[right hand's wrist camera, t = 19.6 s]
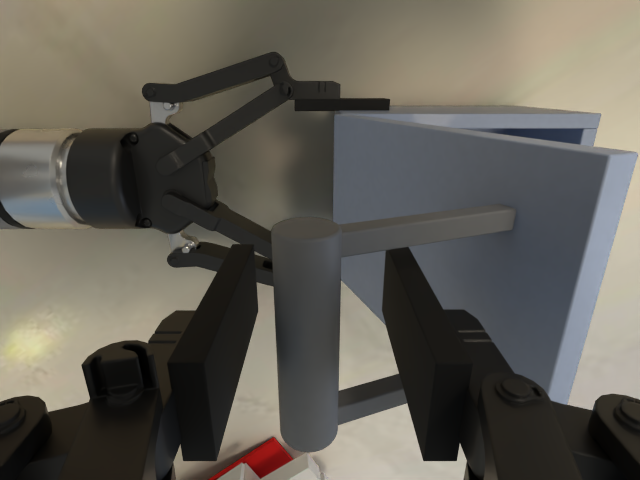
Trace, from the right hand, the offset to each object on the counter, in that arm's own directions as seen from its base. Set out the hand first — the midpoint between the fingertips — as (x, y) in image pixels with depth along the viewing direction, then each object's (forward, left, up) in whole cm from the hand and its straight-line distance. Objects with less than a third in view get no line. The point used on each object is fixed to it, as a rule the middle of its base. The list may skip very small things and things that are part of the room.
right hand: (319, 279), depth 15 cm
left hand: (-2, +5, -17) cm, 18 cm away
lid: (-2, +4, -4) cm, 6 cm away
